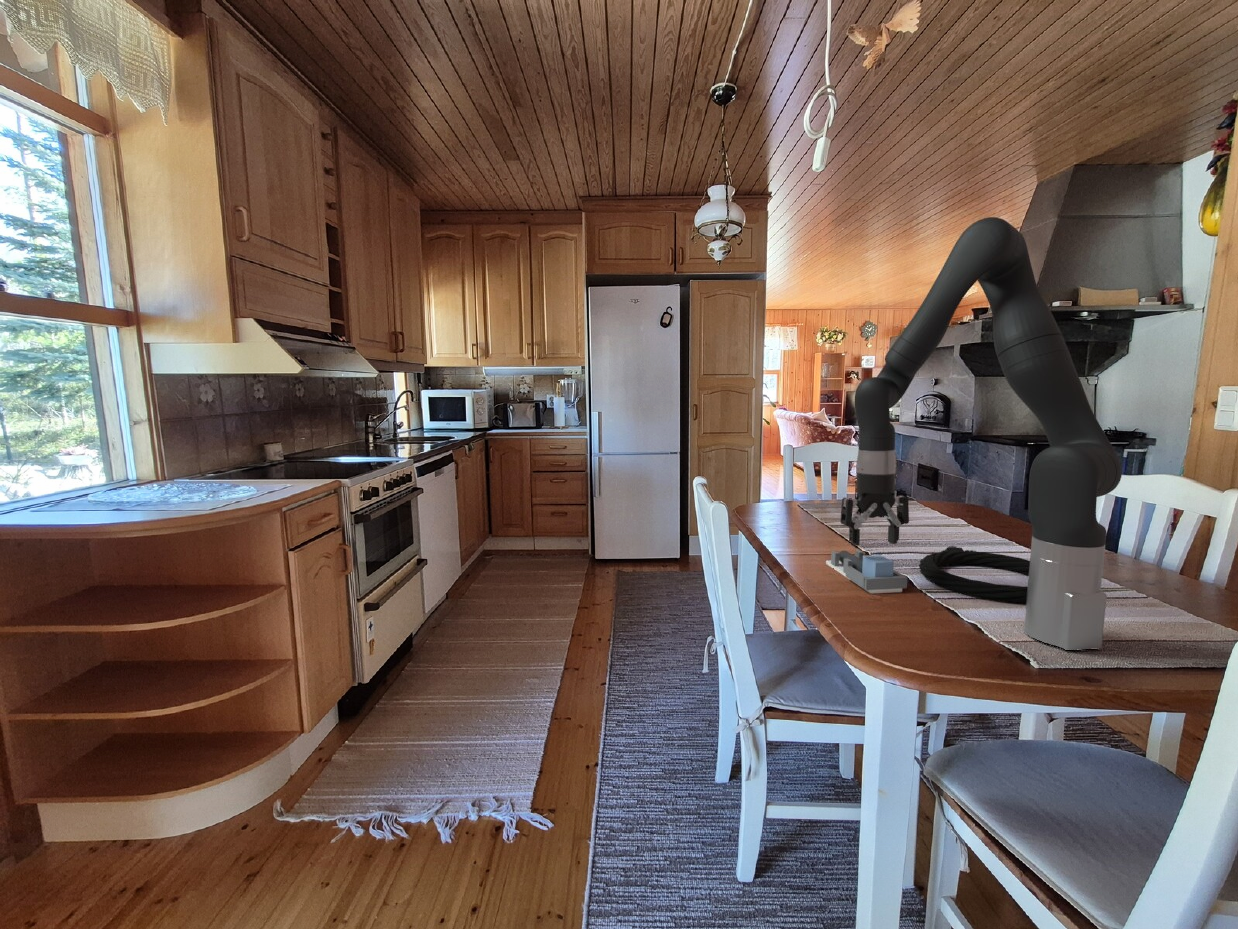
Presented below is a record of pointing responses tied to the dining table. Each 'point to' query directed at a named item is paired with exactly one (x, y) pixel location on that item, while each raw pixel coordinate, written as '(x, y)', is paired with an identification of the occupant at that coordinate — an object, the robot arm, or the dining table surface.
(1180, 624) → the dining table surface
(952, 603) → the dining table surface
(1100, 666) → the dining table surface
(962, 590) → the cable lock
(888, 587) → the rail
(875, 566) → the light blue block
